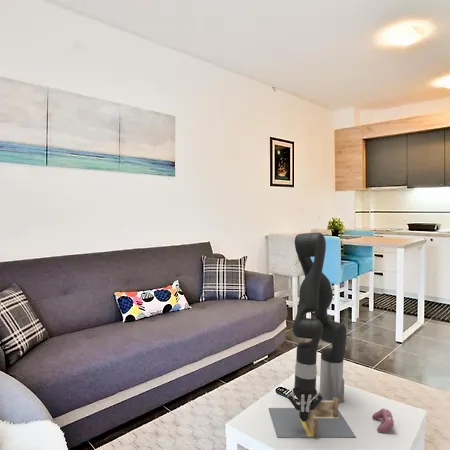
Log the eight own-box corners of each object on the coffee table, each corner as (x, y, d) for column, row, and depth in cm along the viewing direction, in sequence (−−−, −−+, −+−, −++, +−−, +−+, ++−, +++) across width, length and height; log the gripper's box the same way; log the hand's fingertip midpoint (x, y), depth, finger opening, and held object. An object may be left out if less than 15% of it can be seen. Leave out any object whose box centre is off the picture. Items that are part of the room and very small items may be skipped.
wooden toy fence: (336, 415, 141) (337, 397, 141) (338, 419, 139) (339, 400, 138) (298, 415, 140) (299, 396, 140) (299, 419, 138) (300, 399, 138)
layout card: (337, 408, 146) (337, 407, 146) (355, 437, 127) (355, 436, 127) (268, 408, 145) (268, 407, 145) (277, 437, 126) (277, 436, 126)
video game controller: (388, 438, 130) (398, 423, 129) (376, 431, 131) (386, 415, 130) (381, 423, 140) (391, 408, 139) (370, 416, 140) (380, 401, 140)
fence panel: (301, 417, 138) (302, 402, 137) (304, 417, 138) (305, 402, 138) (314, 437, 126) (315, 420, 125) (317, 437, 126) (318, 420, 125)
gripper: (320, 368, 133) (318, 414, 134) (285, 368, 133) (283, 414, 134) (327, 378, 126) (325, 426, 127) (289, 378, 125) (287, 426, 126)
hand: (303, 420), depth 130 cm, fingers closed
